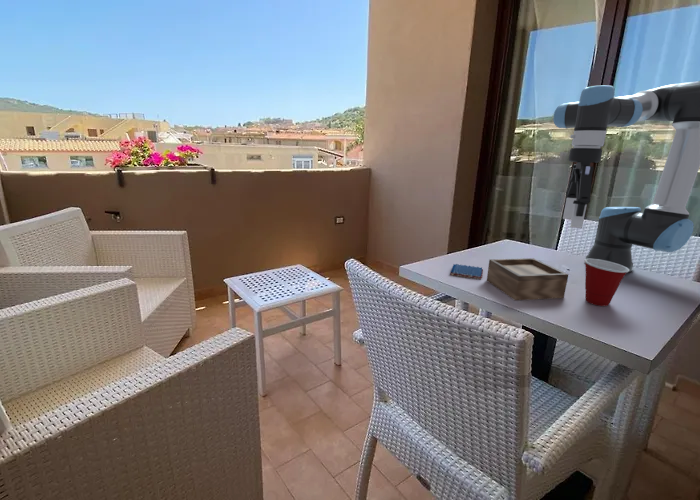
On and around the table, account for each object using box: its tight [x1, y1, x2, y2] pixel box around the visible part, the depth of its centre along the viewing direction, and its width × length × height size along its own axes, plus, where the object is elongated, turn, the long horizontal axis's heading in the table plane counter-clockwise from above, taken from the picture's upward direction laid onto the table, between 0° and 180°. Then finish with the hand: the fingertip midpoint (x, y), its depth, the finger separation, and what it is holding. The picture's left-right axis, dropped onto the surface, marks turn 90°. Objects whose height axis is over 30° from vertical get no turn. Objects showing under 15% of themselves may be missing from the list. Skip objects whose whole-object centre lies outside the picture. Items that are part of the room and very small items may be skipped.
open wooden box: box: [486, 257, 569, 301], centre depth 114 cm, size 16×16×8 cm
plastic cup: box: [584, 259, 630, 307], centre depth 105 cm, size 11×11×12 cm
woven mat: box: [449, 263, 484, 280], centre depth 128 cm, size 10×11×2 cm
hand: (571, 223), depth 106 cm, fingers open, 13 cm apart
